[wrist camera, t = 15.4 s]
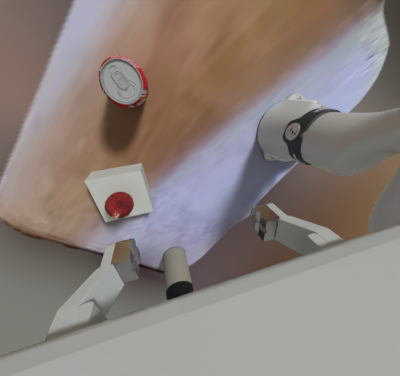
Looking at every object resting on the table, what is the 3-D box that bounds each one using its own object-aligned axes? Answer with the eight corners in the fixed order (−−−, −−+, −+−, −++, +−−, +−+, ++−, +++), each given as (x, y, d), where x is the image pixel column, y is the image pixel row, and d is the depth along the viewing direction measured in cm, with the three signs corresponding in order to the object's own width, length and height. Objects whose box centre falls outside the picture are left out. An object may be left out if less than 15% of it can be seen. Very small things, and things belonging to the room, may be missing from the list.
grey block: (141, 163, 42) (140, 170, 38) (152, 201, 48) (153, 211, 44) (91, 172, 40) (84, 181, 36) (109, 210, 46) (105, 222, 42)
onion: (117, 181, 37) (109, 199, 31) (139, 193, 40) (137, 212, 34) (104, 199, 39) (94, 221, 32) (126, 209, 42) (122, 231, 35)
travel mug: (158, 256, 59) (161, 311, 44) (173, 243, 58) (181, 294, 43) (174, 263, 63) (182, 316, 48) (189, 251, 62) (201, 301, 47)
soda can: (129, 112, 36) (120, 118, 26) (103, 79, 32) (81, 70, 22) (155, 94, 36) (157, 92, 26) (132, 58, 32) (123, 39, 22)
